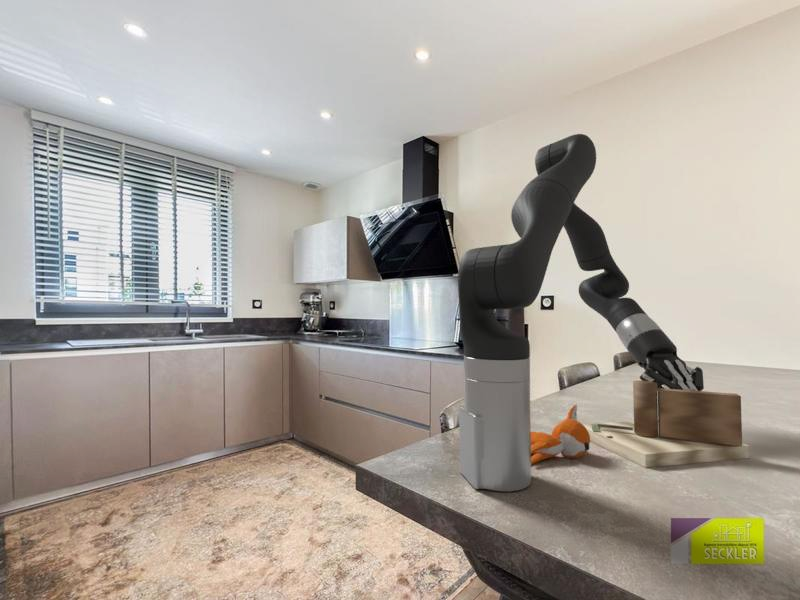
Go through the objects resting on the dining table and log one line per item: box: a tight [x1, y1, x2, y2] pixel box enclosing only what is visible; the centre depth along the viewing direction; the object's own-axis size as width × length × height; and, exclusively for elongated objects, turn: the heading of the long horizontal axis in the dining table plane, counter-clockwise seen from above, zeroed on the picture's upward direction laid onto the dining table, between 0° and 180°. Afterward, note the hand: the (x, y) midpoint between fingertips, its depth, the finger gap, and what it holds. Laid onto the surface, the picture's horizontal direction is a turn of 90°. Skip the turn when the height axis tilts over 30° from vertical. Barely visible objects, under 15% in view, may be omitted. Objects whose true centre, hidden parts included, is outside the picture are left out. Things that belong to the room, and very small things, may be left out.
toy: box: [531, 403, 591, 466], centre depth 68 cm, size 8×22×15 cm
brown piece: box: [598, 380, 743, 446], centre depth 67 cm, size 21×4×9 cm, turn 64°
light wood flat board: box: [581, 420, 750, 468], centre depth 68 cm, size 20×16×2 cm
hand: (703, 415), depth 67 cm, fingers closed
